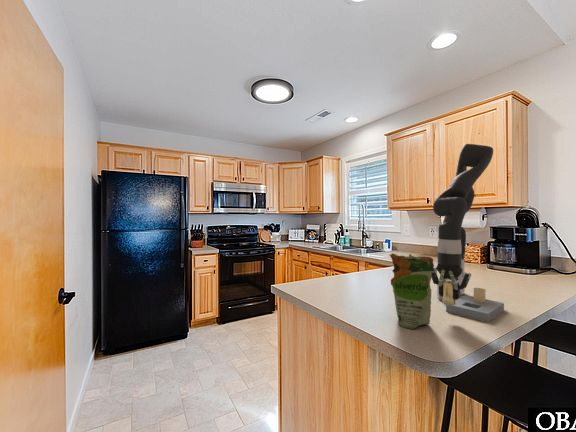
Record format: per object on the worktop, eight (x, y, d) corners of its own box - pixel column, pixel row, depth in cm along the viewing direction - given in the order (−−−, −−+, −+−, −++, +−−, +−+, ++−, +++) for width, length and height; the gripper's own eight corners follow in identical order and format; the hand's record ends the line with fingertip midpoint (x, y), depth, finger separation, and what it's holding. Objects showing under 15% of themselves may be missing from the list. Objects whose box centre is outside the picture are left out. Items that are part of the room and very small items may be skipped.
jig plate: (446, 311, 107) (446, 291, 107) (464, 301, 120) (464, 283, 120) (488, 322, 96) (488, 300, 96) (504, 310, 108) (504, 290, 109)
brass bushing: (440, 303, 99) (441, 281, 98) (445, 300, 101) (445, 279, 101) (452, 306, 95) (452, 283, 95) (457, 303, 98) (457, 282, 98)
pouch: (437, 329, 90) (437, 255, 90) (406, 332, 87) (406, 256, 87) (415, 317, 101) (415, 251, 101) (387, 320, 98) (387, 252, 98)
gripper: (475, 252, 95) (475, 301, 95) (433, 248, 106) (433, 291, 106) (467, 254, 90) (467, 305, 90) (424, 250, 101) (424, 295, 102)
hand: (449, 297), depth 98 cm, fingers closed on brass bushing, 4 cm apart
